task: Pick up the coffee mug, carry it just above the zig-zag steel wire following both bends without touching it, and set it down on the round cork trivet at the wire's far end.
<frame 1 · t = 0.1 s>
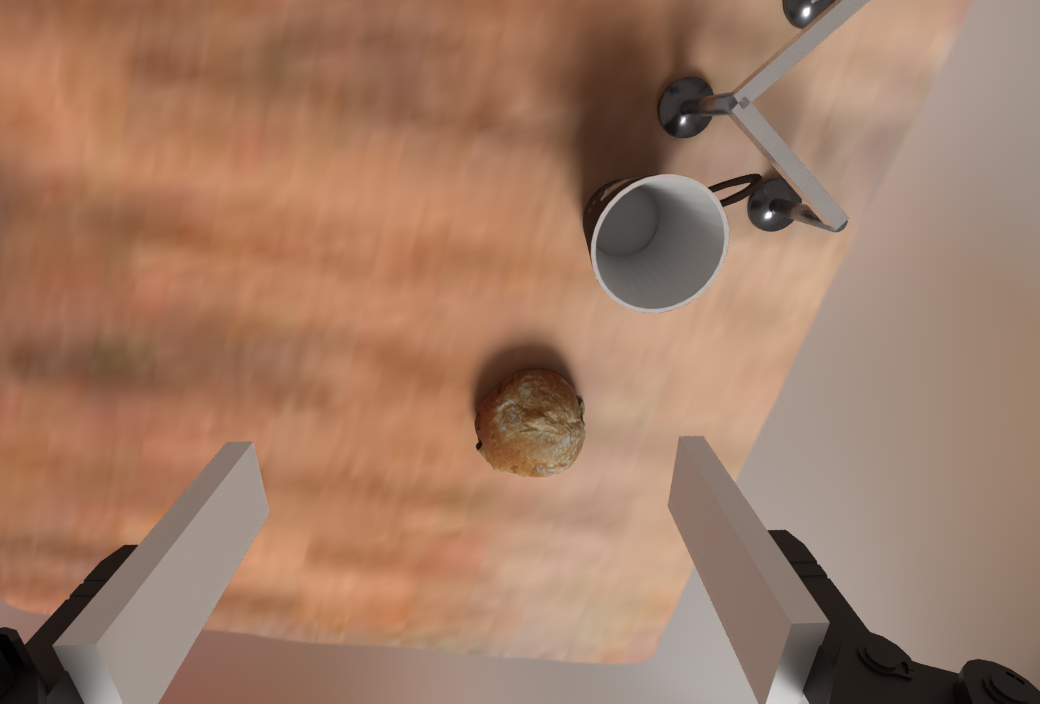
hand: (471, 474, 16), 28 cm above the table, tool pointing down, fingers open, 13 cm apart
bent wire: (737, 108, 38), on the table
coffee mug: (640, 219, 41), on the table
bread roll: (528, 415, 48), on the table
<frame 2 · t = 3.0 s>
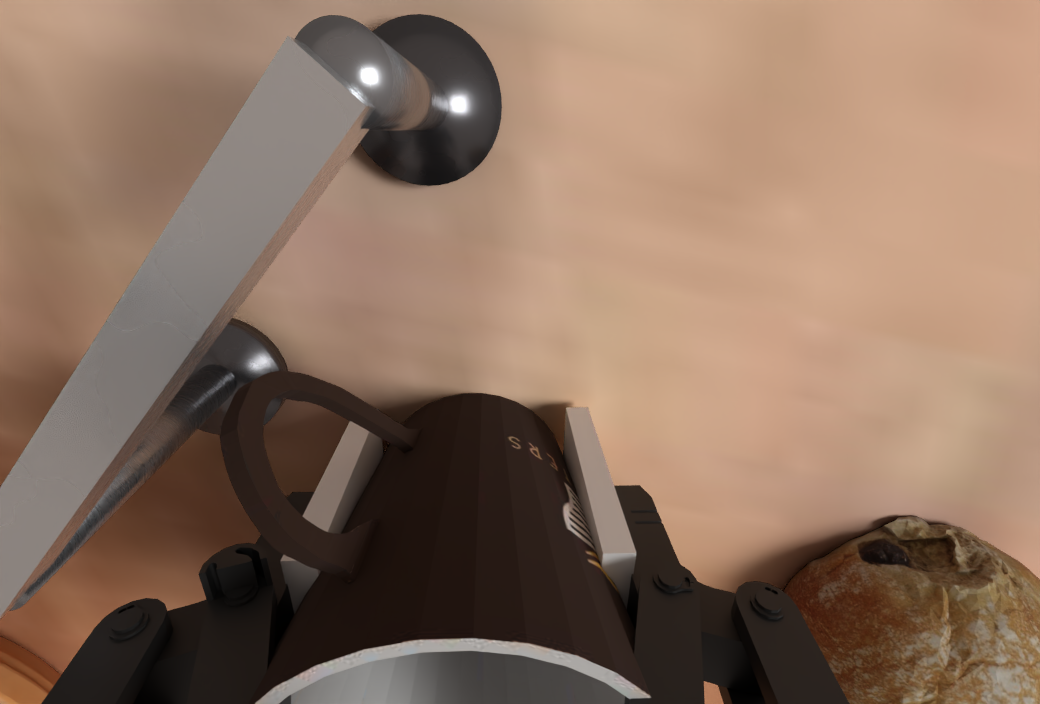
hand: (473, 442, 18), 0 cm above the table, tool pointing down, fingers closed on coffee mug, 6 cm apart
bent wire: (196, 251, 15), on the table
coffee mug: (472, 432, 18), on the table, touching gripper
bread roll: (880, 598, 23), on the table
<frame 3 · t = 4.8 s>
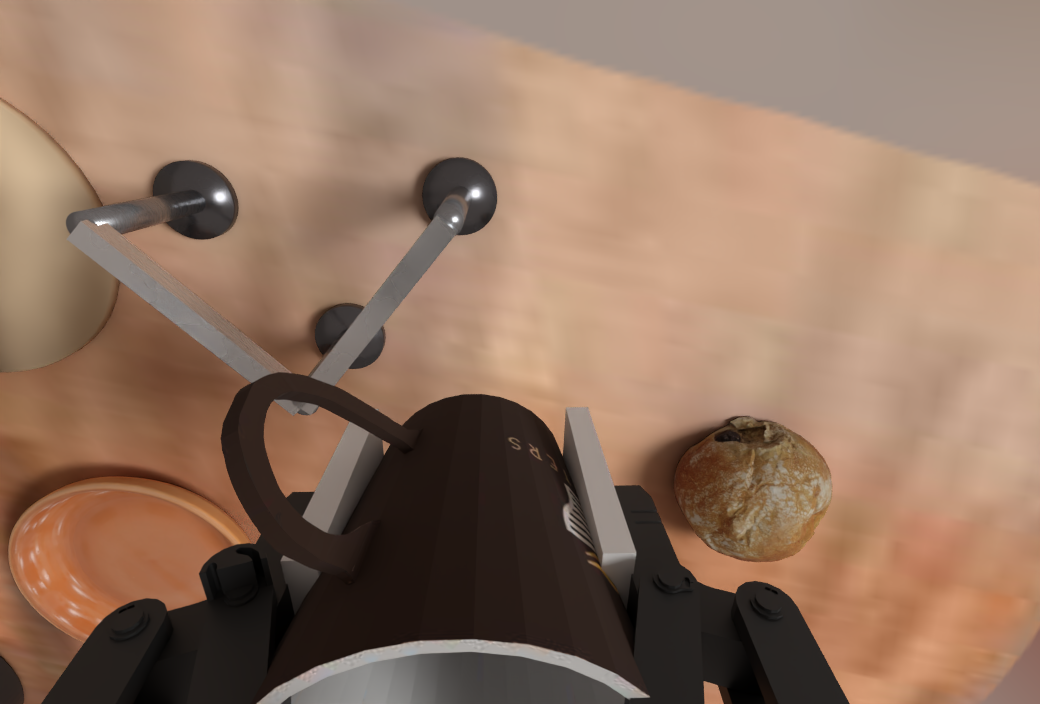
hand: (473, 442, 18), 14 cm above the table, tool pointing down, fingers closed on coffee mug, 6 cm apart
bent wire: (342, 270, 29), on the table
saucer: (164, 547, 37), on the table
coffee mug: (472, 432, 18), point 14 cm above the table, touching gripper
bread roll: (740, 474, 37), on the table
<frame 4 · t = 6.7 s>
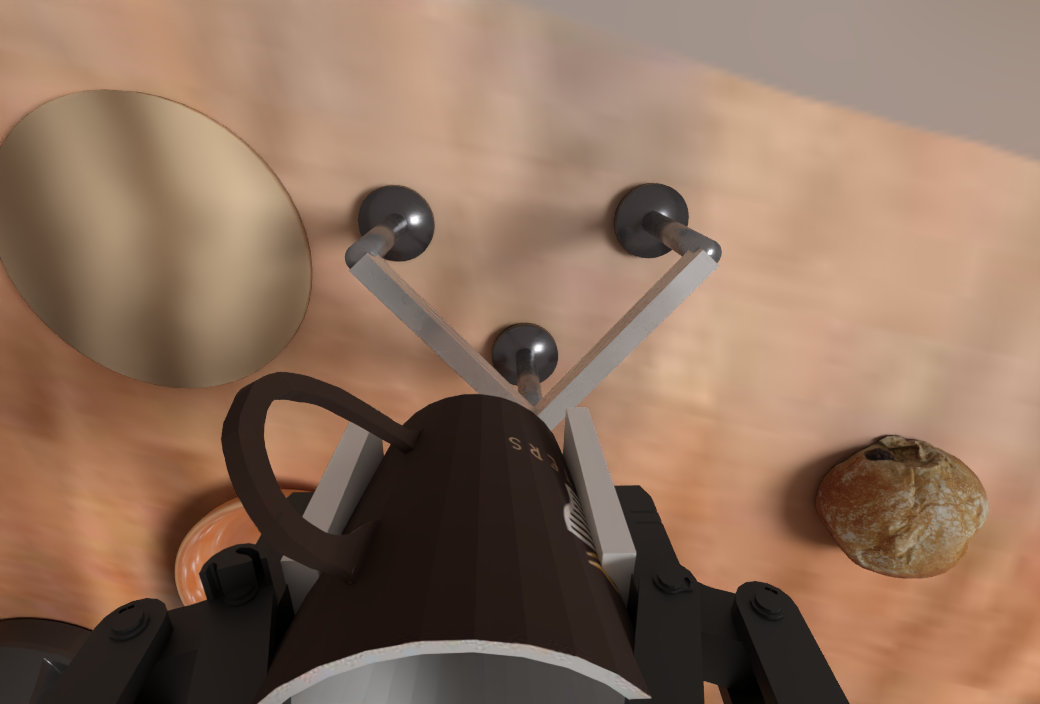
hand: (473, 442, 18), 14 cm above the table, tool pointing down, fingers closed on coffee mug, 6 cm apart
bent wire: (524, 291, 30), on the table
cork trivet: (163, 253, 28), on the table
saucer: (310, 557, 38), on the table
coffee mug: (472, 432, 18), point 13 cm above the table, touching gripper
bread roll: (878, 490, 38), on the table
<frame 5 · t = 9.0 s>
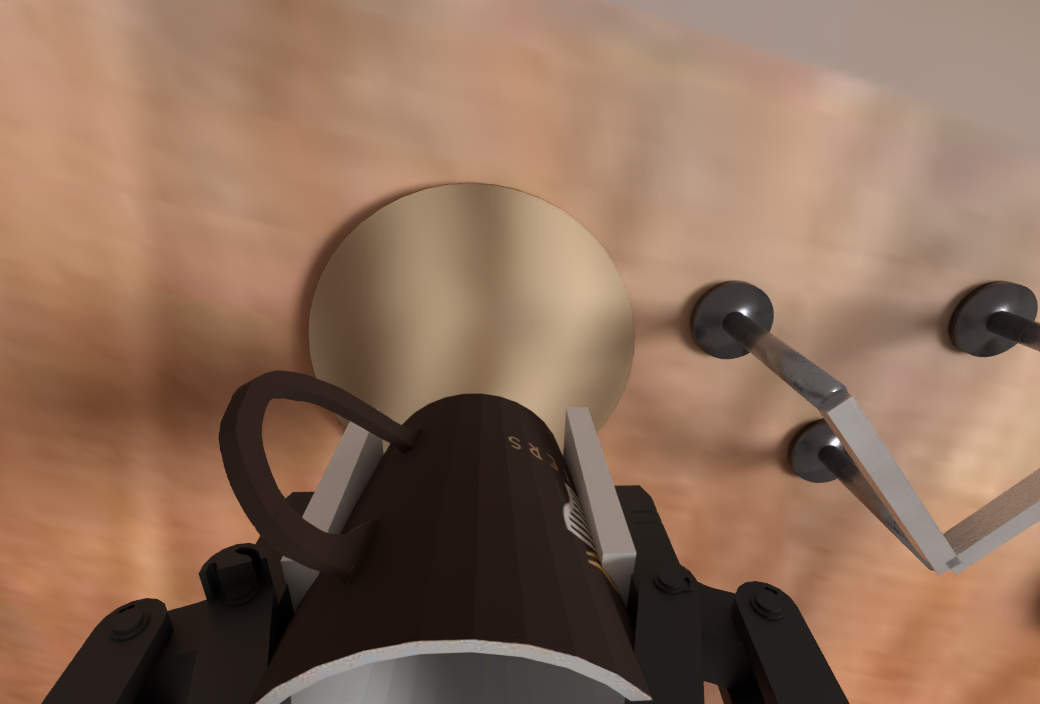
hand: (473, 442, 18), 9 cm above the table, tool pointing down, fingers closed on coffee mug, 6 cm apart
bent wire: (839, 386, 28), on the table
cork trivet: (475, 347, 26), on the table
coffee mug: (472, 432, 18), point 8 cm above the table, touching gripper
when the fingers open (2 cm above the table, at t = 10.7 s): coffee mug stays where it is, resting on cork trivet.
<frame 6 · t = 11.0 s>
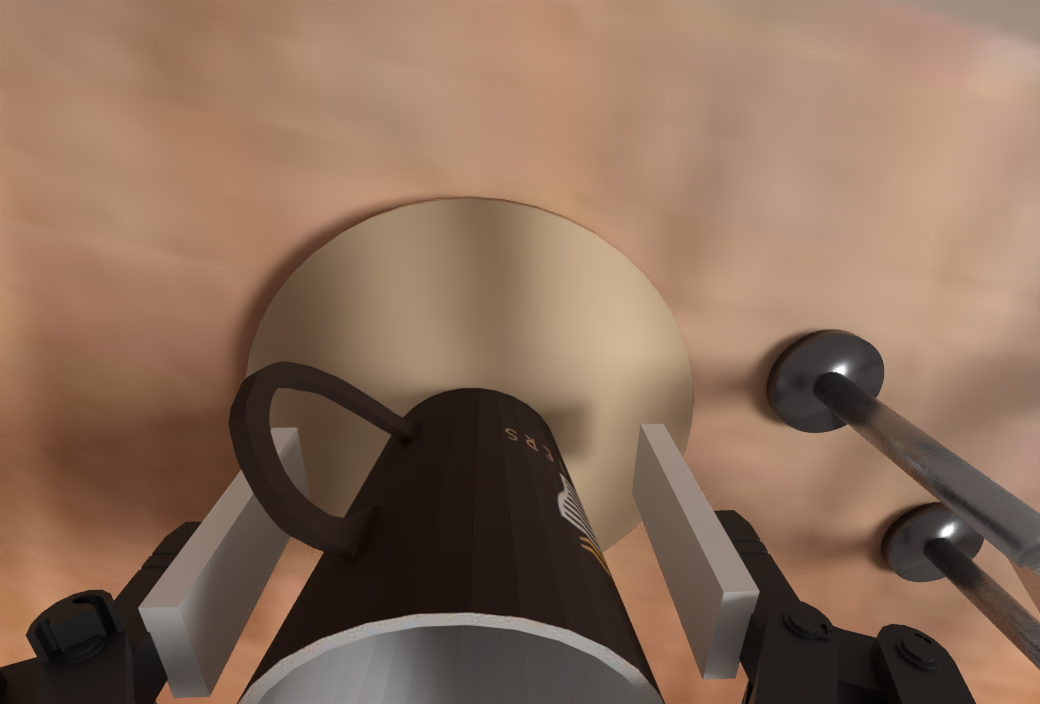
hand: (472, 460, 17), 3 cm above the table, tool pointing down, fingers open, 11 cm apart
bent wire: (958, 464, 21), on the table
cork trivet: (475, 416, 19), on the table
coffee mug: (470, 425, 19), point 1 cm above the table, touching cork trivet
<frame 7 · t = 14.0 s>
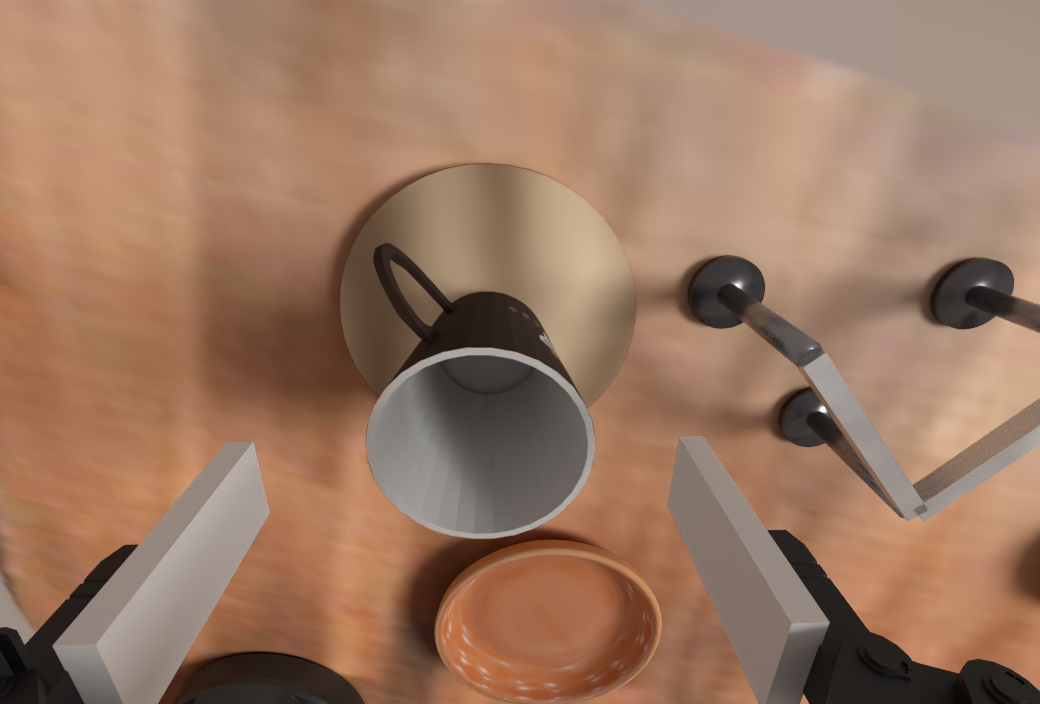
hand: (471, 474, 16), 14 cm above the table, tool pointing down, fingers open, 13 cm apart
bent wire: (827, 356, 30), on the table
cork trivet: (489, 315, 28), on the table
saucer: (545, 599, 38), on the table
coffee mug: (486, 319, 28), point 1 cm above the table, touching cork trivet
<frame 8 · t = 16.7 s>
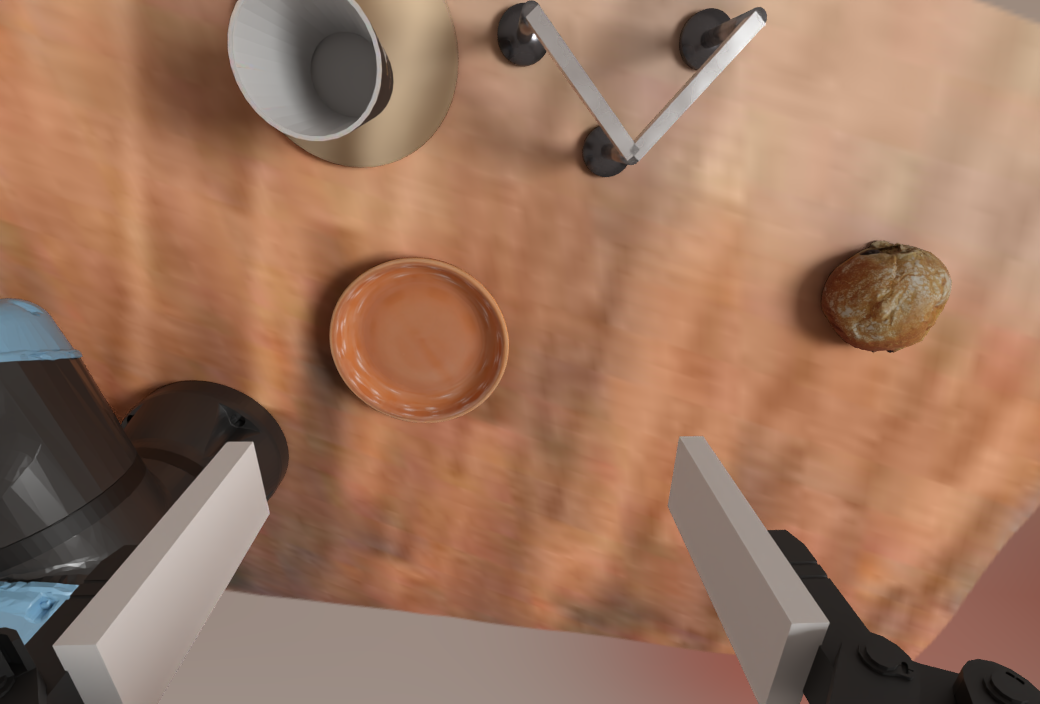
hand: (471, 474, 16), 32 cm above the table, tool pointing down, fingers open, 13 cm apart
bent wire: (610, 96, 40), on the table
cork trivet: (352, 54, 39), on the table
saucer: (424, 334, 48), on the table
coffee mug: (348, 53, 38), point 1 cm above the table, touching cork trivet
bread roll: (869, 293, 49), on the table
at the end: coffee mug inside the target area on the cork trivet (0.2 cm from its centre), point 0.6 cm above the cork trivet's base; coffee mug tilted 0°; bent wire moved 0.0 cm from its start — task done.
